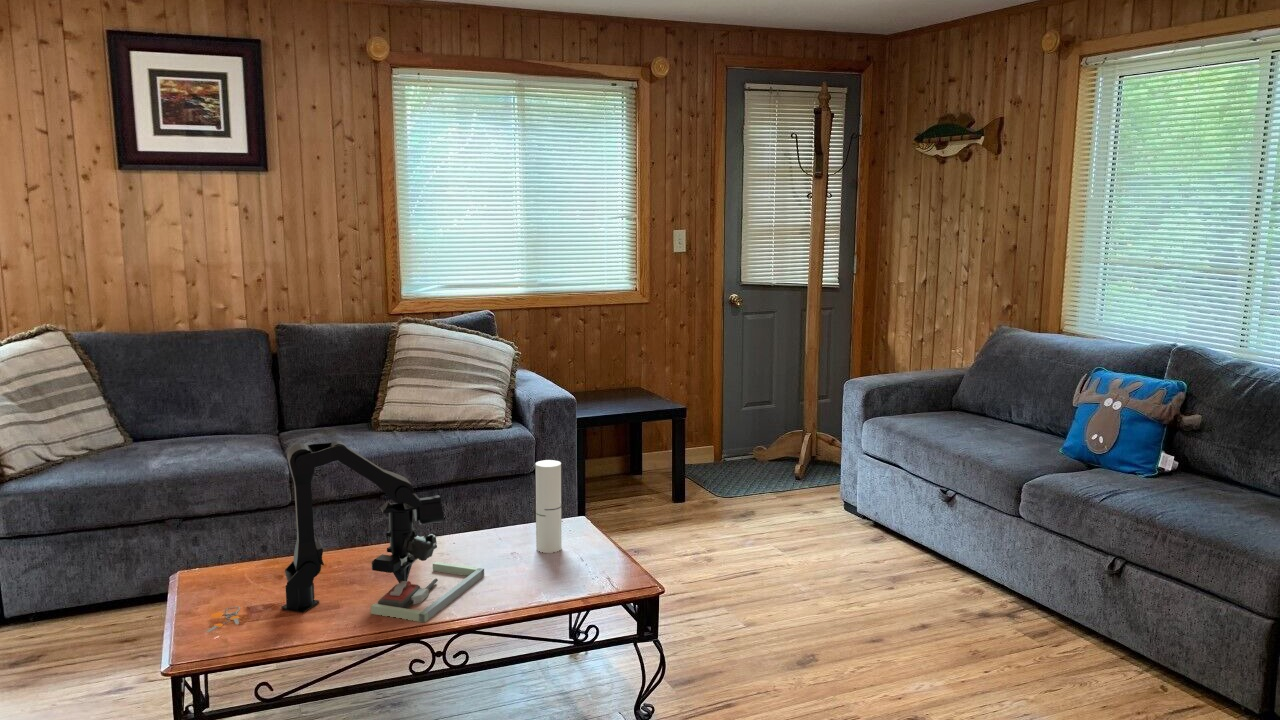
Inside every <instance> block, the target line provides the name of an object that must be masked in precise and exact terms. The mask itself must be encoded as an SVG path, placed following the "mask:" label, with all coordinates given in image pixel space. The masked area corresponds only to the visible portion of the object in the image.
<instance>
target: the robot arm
mask: <svg viewBox="0 0 1280 720" xmlns="http://www.w3.org/2000/svg"><path fill="white" fill-rule="evenodd" d="M286 455H287V462H288V465H289V466H288V467H289V470H290V473H291V476H292V479H293V486H294V503H295V522H296V536H297V537H296V542H295V546H294V552H293V553H294V554H293V558H292V559H293V560H292V561H291V563H290V564H289V565H288V566H287V567H286V568H285V569H284V574H285V579H286V581H287V582H286V585H285V601H286V603H285V604H284V605H282V606H281V607H280V608H281V610H284V611H289V612H297V613H301V614H303V613H306V612H307V611H309V610H311V609H312V608H314V607H315V606H316V605H318V604H320V600H318V599H315V583H314V579H315V578H316V577H317V576H318V575H319V574H320V573H321V571H322V566H324V565H325V563H324V560H323V552H324V549H323V546H322V543H321V541H320V540H318V541H315V530H314V529H315V528H314V513H313V511H314V510H313V508H314V507H313V493H312V492H313V491H312V490H313V489H312V483H313V479H314V475H315V468H317V467H323V466H325V465H328V464H331V463H333V462H337V461H339V462H340V463H341V464H343V465H345V466H346V467H348V468H349V469H350V470H352V471H354V472H355V473H358V474H359V475H361V476H362V477H364V478H365V479H367V480H369V482H372V483H374V484H375V485H376V486H377V487H378V488H379V489H380V490H381V491H382V492H383V493H384V494H385V495H386V496H387V497H388V498H390V500H392V501H393V502H394V503H391V502H390V501H389V500H386V502H385V503H384V504H383V505H381V506H380V510H381V512H382V514H388V520H389V523H388V524H389V525H388V526H389V530H388V531H386V533H385V535H386V537H388V538H389V546H388V547H387V548H386V553H391V554H390V555H389V554H381V555H379V556H377V557H376V558H374V559H373V560H372V561H371V570H372V571H375V572H380V573H382V572H383V573H388V574H391V573H392V574H393V575H394V577H395V578H396V580H397V583H398V584H399V583H400V582H401V581H408V579H409V576H410V573H411V569H412V565H413V564H414V563H415V562H416V561H418V560H419V561H421V562H424V561H426V560H428V559H429V558H430V557H432V556H433V553H434V550H435V549H437V548H438V545H437V542H438V541H437V536H436V535H435V534H433V533H430V534H428V535H427V536H426V537H425V536H424V535H423V536H420V535H418V531H419V530H417V528H414V520H415V522H418V523H419V525H420V526H422V525H429V524H436V523H443V522H444V520H445V512H444V508H443V503H442V497H441V496H440V495H438V494H437V495H432V496H428V497H427V496H425V497H419V496H418V495H417V493H414V492H415V490H414V487H413V485H412V484H411V482H410V481H409V480H408V478H407V477H405V476H402V475H400V474H398V473H396V472H393V471H390V470H386V469H384V468H381V466H378V465H376V464H375V463H374V462H372V461H370V460H369V459H367V458H366V457H364V456H363V455H361V454H359V453H358V452H356V451H355V450H353V449H352V448H350V447H349V446H347V445H345V443H344V442H342V441H340V440H335V441H330V442H318V443H310V444H305V443H295V444H293V445H292V446H291V447H290V448H289V449H288V450H287V454H286ZM413 518H414V519H413Z"/></svg>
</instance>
